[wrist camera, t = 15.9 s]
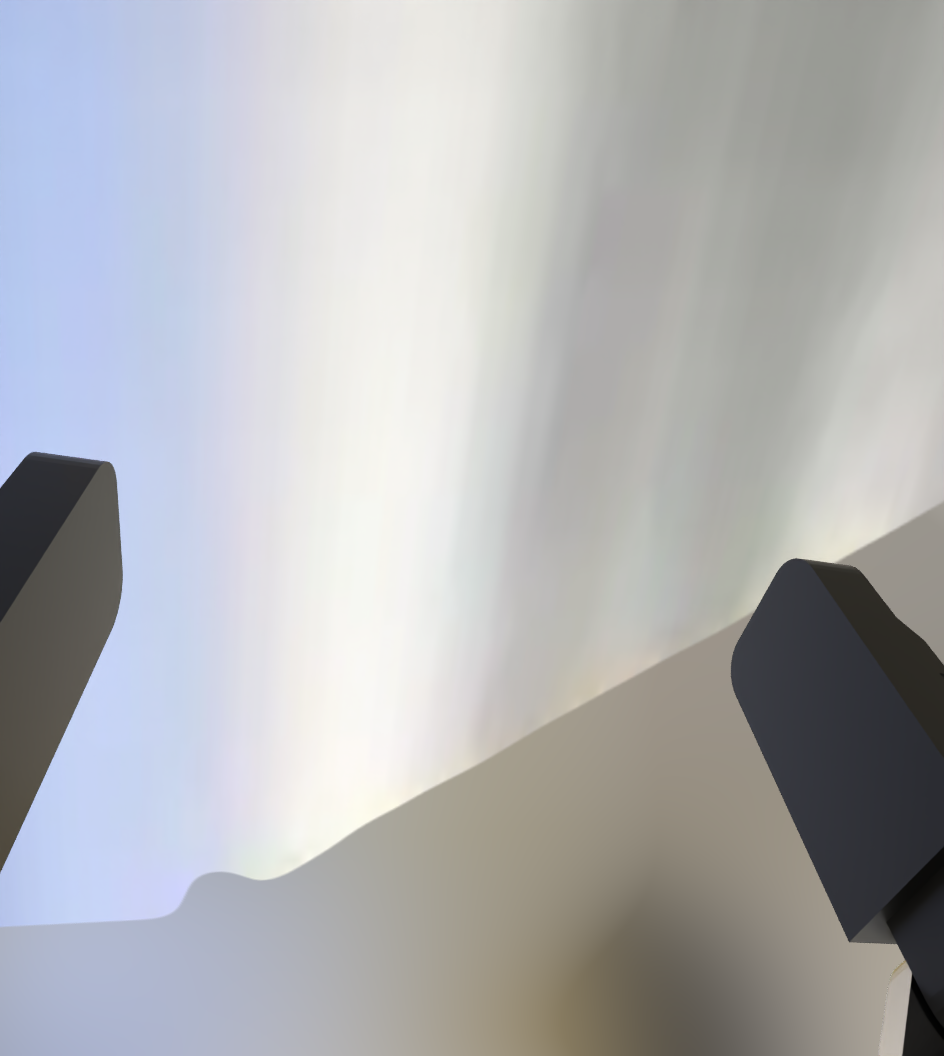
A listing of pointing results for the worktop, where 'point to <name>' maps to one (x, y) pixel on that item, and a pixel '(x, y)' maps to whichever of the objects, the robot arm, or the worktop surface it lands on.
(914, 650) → the robot arm
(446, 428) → the worktop surface
